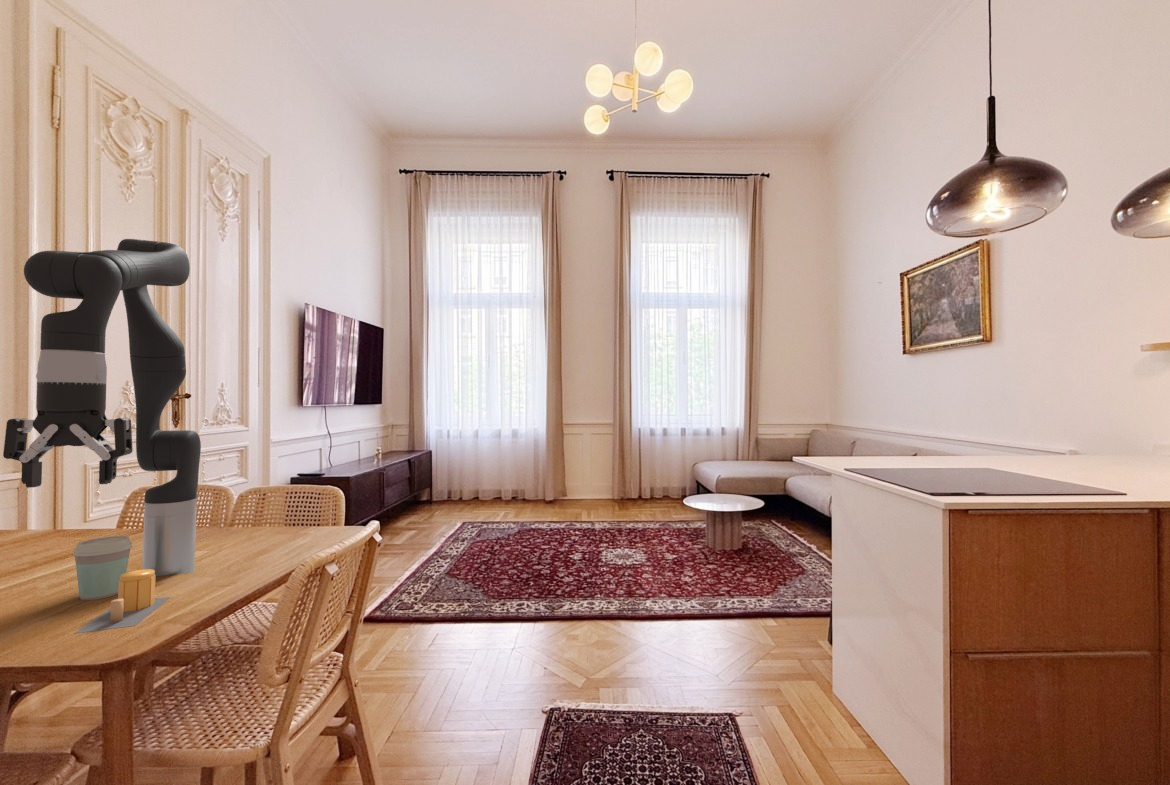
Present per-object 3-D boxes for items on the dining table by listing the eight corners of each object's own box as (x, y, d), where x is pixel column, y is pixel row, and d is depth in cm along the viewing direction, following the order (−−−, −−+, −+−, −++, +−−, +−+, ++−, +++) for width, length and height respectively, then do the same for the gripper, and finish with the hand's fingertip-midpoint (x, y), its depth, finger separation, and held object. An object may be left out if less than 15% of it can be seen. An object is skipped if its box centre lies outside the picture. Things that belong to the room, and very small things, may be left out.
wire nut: (126, 603, 93) (127, 571, 93) (158, 599, 95) (159, 568, 95) (113, 613, 88) (114, 579, 89) (146, 609, 90) (147, 575, 90)
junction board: (118, 610, 93) (119, 583, 93) (170, 604, 96) (171, 578, 96) (73, 642, 80) (74, 611, 80) (135, 634, 83) (136, 604, 83)
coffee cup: (126, 590, 104) (128, 533, 104) (134, 600, 98) (136, 539, 99) (67, 602, 97) (70, 541, 98) (72, 614, 92) (75, 548, 92)
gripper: (141, 382, 83) (139, 479, 83) (28, 381, 78) (25, 484, 78) (118, 381, 76) (115, 486, 76) (-8, 379, 71) (-12, 492, 71)
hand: (70, 485), depth 77 cm, fingers open, 8 cm apart
